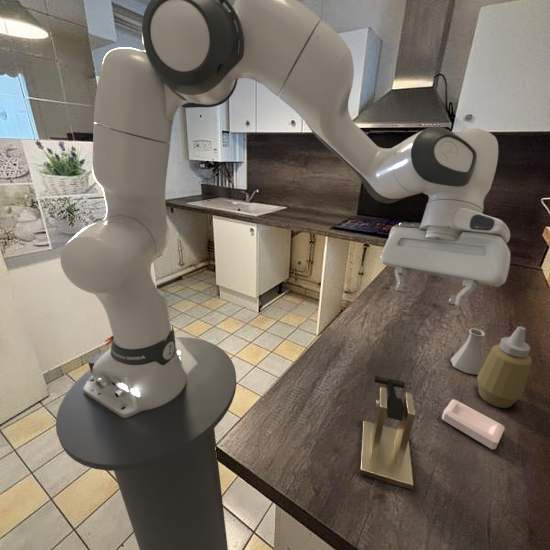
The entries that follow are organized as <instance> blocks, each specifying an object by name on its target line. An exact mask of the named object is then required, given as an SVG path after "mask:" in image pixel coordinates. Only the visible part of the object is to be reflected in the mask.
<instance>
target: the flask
mask: <svg viewBox="0 0 550 550" xmlns="http://www.w3.org/2000/svg"><path fill="white" fill-rule="evenodd" d="M468 333H469V335H468V337H467V339H466V341H465V342H464V343H463V345H462V346H461V347H460V349H458V350H457V351H456V353H454V354H453V355H452V357H450V359H449V360H450V362H451V364H452V367H453V368H455V369H457V370H459V371H461V372H463V373H465V374H469V375H476V376H478V374H479V372H480V370H481V368H482V366H483V364H484V361H483V354H482V340H483V338H484V337H485V336H486V333H485V332H484V330H481V329H478V328H474V327H471V328H470V329H469V330H468Z"/></svg>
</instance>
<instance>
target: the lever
mask: <svg viewBox="0 0 550 550" xmlns="http://www.w3.org/2000/svg"><path fill="white" fill-rule="evenodd" d="M373 381H374V383H377V384H381V385H385V386H386V390H387V411H386V416H387V418H388V419H391V420H395V421H398V422H399V421H402V419H403V412H404V405H403V402H404V400H403V398H398V397H397V394H396V389H395V388H400V389H405V386H406V385H405V381H401V380H397V379H392V378H387V377H382V376H377V375H375V376H374V379H373Z"/></svg>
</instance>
